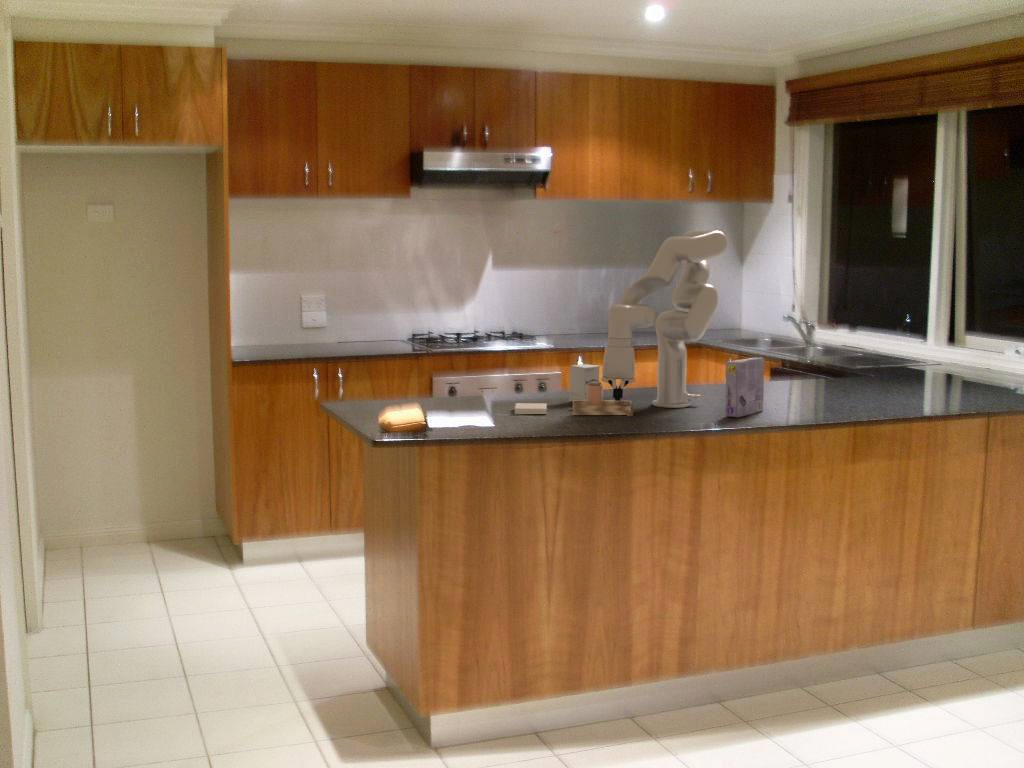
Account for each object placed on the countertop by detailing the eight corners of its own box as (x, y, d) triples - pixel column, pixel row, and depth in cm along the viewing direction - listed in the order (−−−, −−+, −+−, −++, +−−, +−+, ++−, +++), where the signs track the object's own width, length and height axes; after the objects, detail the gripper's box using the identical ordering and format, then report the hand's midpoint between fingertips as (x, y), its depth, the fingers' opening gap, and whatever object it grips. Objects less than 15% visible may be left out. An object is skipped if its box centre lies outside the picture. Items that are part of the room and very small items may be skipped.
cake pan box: (751, 409, 359) (753, 355, 357) (765, 410, 356) (767, 356, 354) (723, 417, 345) (724, 361, 342) (737, 419, 342) (739, 362, 339)
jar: (602, 411, 355) (602, 381, 354) (602, 414, 350) (603, 383, 349) (586, 411, 355) (586, 381, 354) (586, 413, 350) (587, 383, 349)
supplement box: (583, 404, 368) (584, 367, 366) (568, 402, 373) (569, 365, 371) (599, 402, 372) (600, 365, 370) (584, 399, 378) (585, 363, 376)
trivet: (546, 409, 358) (546, 403, 358) (546, 414, 349) (546, 408, 348) (516, 409, 359) (516, 403, 359) (514, 414, 349) (514, 408, 349)
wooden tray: (630, 409, 358) (631, 400, 357) (633, 416, 346) (633, 406, 346) (572, 409, 359) (572, 400, 358) (572, 415, 347) (573, 406, 347)
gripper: (642, 343, 352) (640, 399, 355) (596, 341, 353) (593, 398, 355) (644, 345, 345) (641, 403, 347) (596, 343, 345) (594, 401, 348)
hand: (617, 400), depth 351 cm, fingers closed
